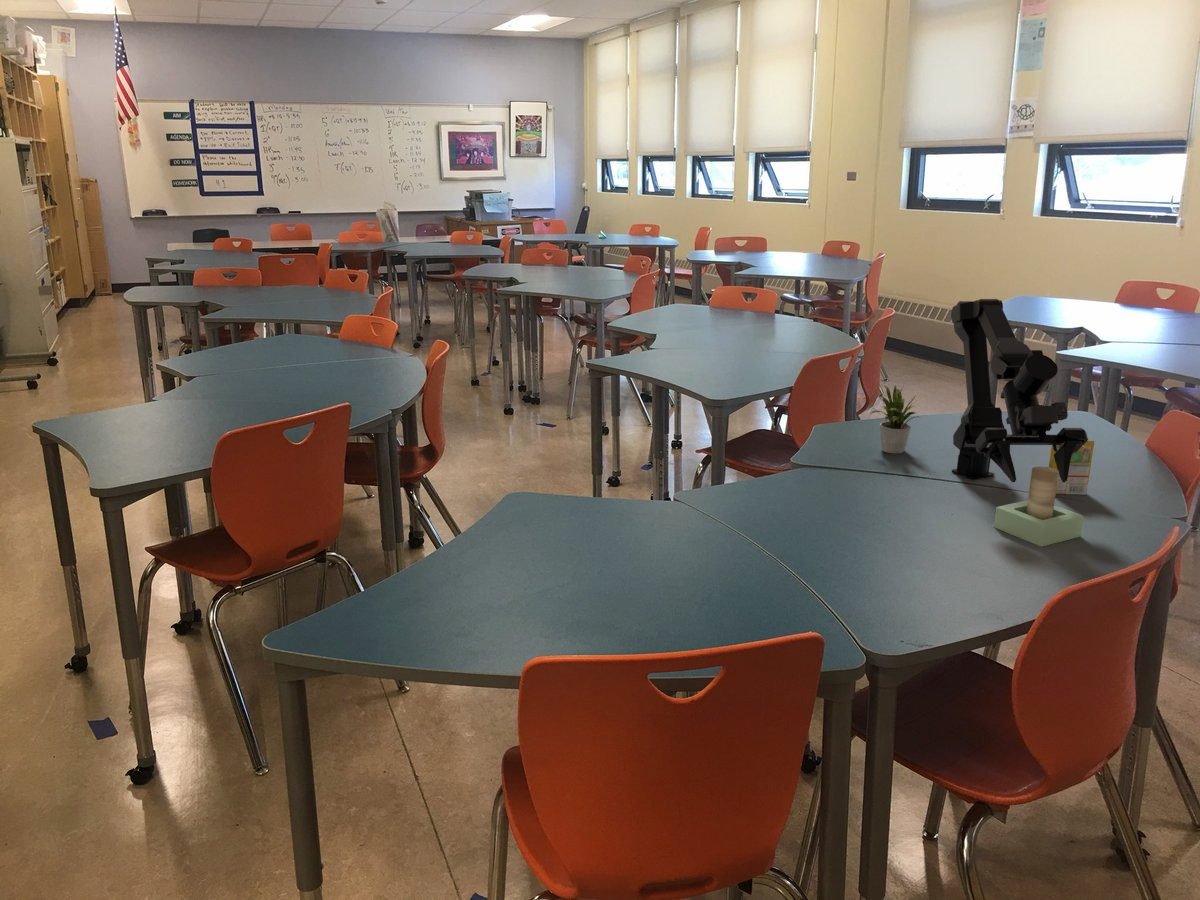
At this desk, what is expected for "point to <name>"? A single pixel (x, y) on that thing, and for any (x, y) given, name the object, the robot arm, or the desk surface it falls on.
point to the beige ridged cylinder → (1042, 492)
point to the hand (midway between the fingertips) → (1039, 481)
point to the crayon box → (1075, 470)
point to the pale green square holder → (1038, 524)
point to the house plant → (894, 422)
